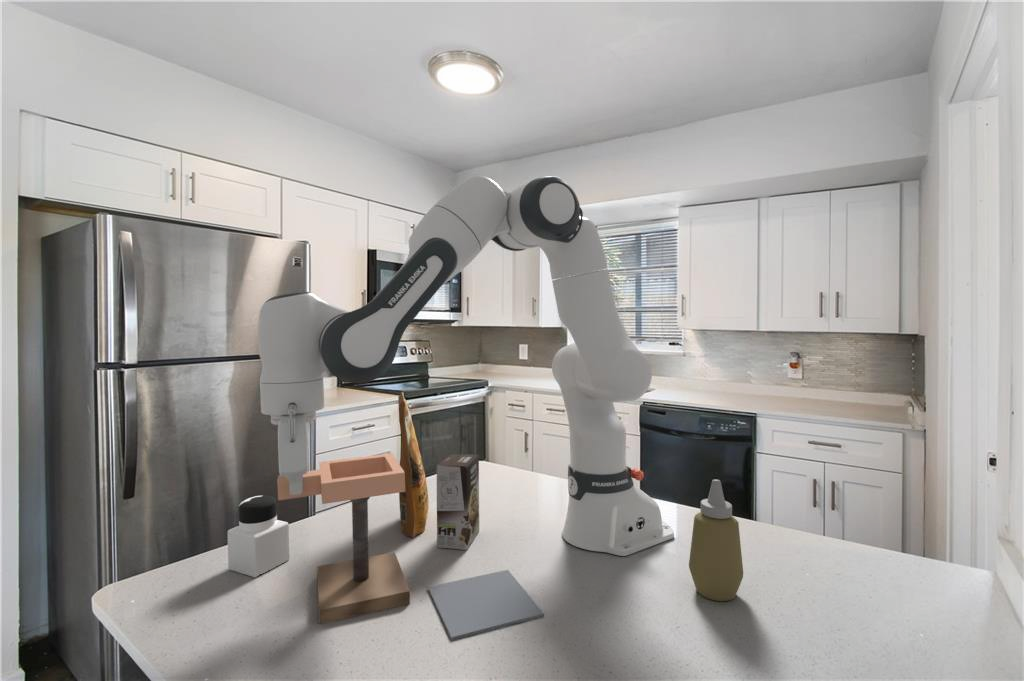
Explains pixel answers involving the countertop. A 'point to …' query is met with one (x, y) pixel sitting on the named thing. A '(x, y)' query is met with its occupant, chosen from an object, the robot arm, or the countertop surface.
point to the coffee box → (457, 501)
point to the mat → (482, 603)
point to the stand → (360, 577)
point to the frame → (349, 479)
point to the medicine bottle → (258, 538)
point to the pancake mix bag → (411, 477)
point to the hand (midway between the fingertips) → (296, 488)
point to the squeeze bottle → (716, 548)
